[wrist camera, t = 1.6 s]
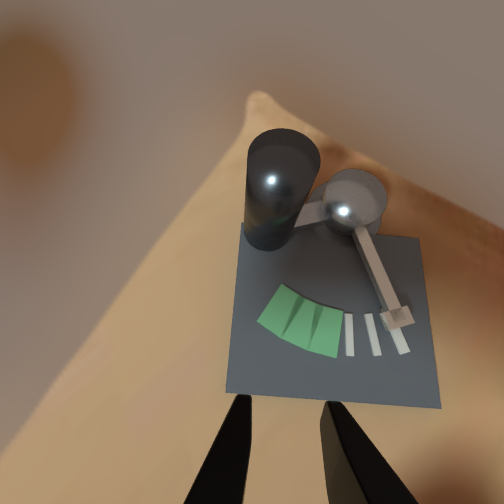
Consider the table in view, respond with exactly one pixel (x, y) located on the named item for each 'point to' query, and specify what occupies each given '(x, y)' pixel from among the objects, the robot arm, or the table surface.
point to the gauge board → (330, 322)
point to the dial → (314, 206)
